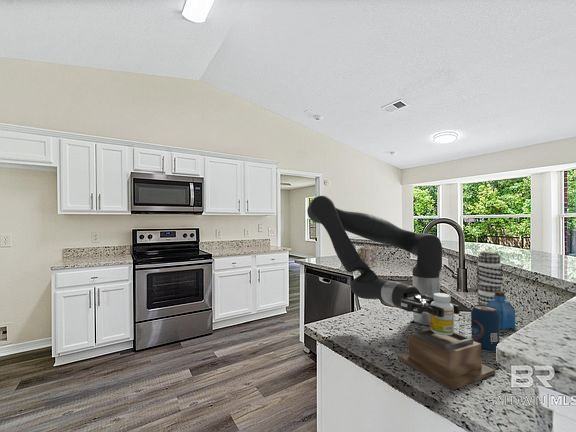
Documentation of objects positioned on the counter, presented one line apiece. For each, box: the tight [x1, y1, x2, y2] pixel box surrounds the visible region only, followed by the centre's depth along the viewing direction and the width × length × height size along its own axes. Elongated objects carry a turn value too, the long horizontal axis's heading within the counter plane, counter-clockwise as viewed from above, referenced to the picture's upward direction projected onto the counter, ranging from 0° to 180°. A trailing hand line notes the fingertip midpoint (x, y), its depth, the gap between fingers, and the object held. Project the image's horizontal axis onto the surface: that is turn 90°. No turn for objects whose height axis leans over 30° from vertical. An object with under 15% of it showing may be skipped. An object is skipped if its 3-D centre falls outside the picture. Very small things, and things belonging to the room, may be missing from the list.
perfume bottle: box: [487, 290, 516, 330], centre depth 103 cm, size 6×6×12 cm
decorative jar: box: [357, 244, 378, 268], centre depth 239 cm, size 12×12×18 cm
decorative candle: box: [475, 250, 504, 306], centre depth 118 cm, size 9×9×25 cm
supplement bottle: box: [430, 292, 455, 335], centre depth 75 cm, size 5×5×10 cm
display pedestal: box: [397, 327, 496, 391], centre depth 74 cm, size 16×16×8 cm
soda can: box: [470, 304, 501, 353], centre depth 85 cm, size 7×7×12 cm
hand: (450, 311), depth 72 cm, fingers closed on supplement bottle, 5 cm apart
